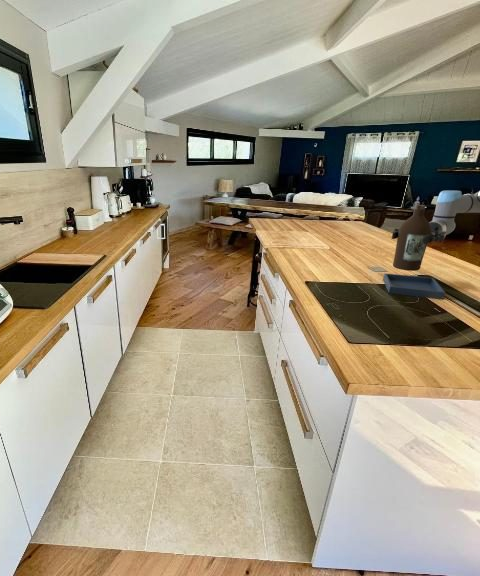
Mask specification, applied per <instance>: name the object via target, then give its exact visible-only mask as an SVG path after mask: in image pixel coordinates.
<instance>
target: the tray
mask: <svg viewBox="0 0 480 576" xmlns="http://www.w3.org/2000/svg"><path fill="white" fill-rule="evenodd" d="M382 280H383V283H384V286H385V288H386V291H387V292H388V293H387V294H391V295H399V296H400V295H401V296H409V297H416V298H417V297H418V298H427V299H435V300H444V299H445V296H446V291H445V290H444V289H443V287H442V286H441V285H440V284H439V282H437V280H436V279H435V278H434V277H429V276H419V275H418V276H417V275H406V274H396V273H395V274H394V273H385V272H384V273H383V278H382Z"/></svg>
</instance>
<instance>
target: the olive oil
mask: <svg viewBox="0 0 480 576" xmlns="http://www.w3.org/2000/svg"><path fill="white" fill-rule="evenodd" d="M425 211H426V205H425V204H416V205H415V207H414V209H413V214H412V215H411V216H410V217H408V218H407V219H406V220H404V221H403V222H402V223H401V224H400V226H399V228H398V229H399V231H398V238H396V244H395V250H394V257H393V261H392V267H393V268H395V269H397V270H402V271H407V272H408V271H409V272H415V271H419V270H420V269H421V267H422V263H423V259H424V256H425V253H426V249H427V247H428V243H427V244H423V242H424V238H425V237H426V236H429V235H430V234H431V225H430V223H429V222H430V221H428V219H426V217H425Z"/></svg>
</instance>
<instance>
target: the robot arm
mask: <svg viewBox="0 0 480 576" xmlns="http://www.w3.org/2000/svg"><path fill="white" fill-rule="evenodd" d="M462 193H463V192H462V191H461V190H449V189H447V190H442V191H440V192H439V194H438V197H437V200H436V205H435V209H434V210H435V211H434V213H433V217H432V220H431V221H428V222H429V223H430V225H431V234H430V235H429V236H426V237H425V238H424V242H423V244H427V245H428V244H429V243H433V242H434V243H437V242H439V243H443V242H444V240H445V238H446V236H447V235H449V234H451V233H452V232H453V231H454V230H455V228H456V222H455V218H456V215H457V214H470V213H471V214H472V213H475V214H480V190H479V191H477V192H475V193H474V194H462ZM398 231H399V228H394V229H393V232H392V234H391V240H397V238H398Z"/></svg>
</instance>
